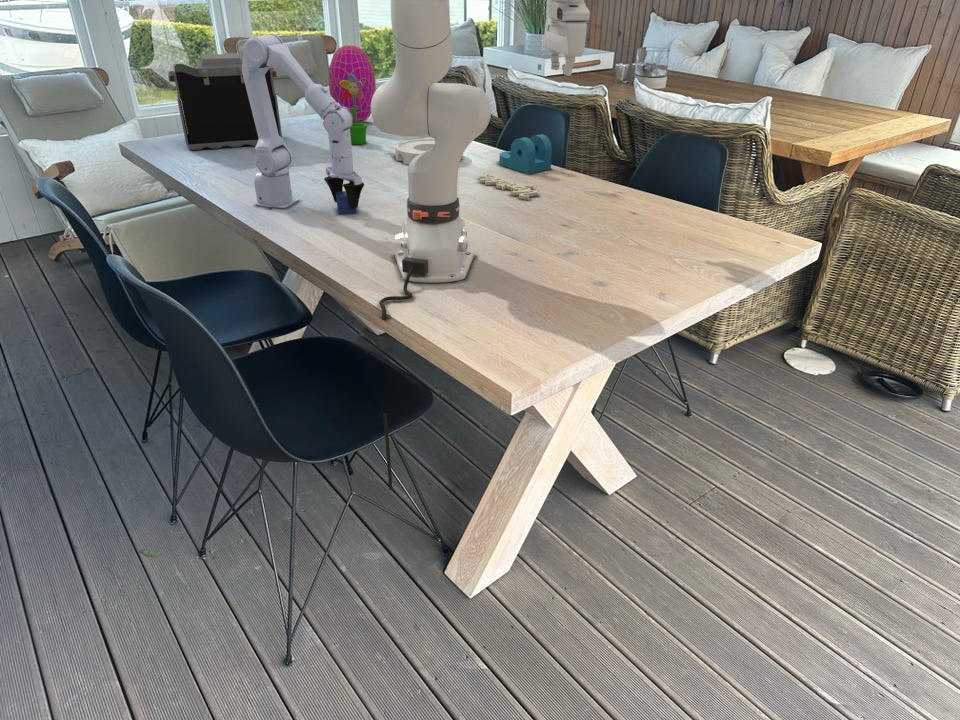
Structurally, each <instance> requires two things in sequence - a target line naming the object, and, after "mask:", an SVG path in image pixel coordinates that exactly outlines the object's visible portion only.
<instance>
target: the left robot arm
mask: <svg viewBox="0 0 960 720" xmlns="http://www.w3.org/2000/svg"><path fill="white" fill-rule="evenodd" d="M241 51H242V55H243V56H242V59H243V62H242V74H243V78H244V82H245V86H246V90H247V94H248V98H249V102H250V106H251V110H252V114H253V118H254V121H255V125H256V129H257V133H258V137H259V140H258V142H257V145H256V146H254V147H255V148H254V151H255V166H256V168H257V170H258V172H257V173H256V174H255V176H254V180H253V181H254V182H253V183H254V189H255V196H256V203H255V205H256V206H259V207H269V208H275V209H287V208H289V207H291V206H293V205H294V204H295V203H297V202H299V201H300V200H299V198H293V193H292V186H291V185H292V184H291V177H290V166H291V165H292V163H293V162H292V161H293V155H292V153H291V151H290V150H289V148H288V146H287V143H286V140H285V139H284V138H283V137H282V138H281V137H280V136H279V134H278V129H277V125H276V121H275V117H274V112H273V108H272V104H271V100H270V96H269V91H268V87H267V83H266V79H265V74H266V72H267V71H268V69H269V68H270V67H273V68H274V69H278V70H279V69H280V70H282V71H283V72H284V74H286V75H287V76H288V77H289V79H291V80H292V82H294V83H295V84H296V85H297V87H298V88H299V89H301V90H302V91H303V92H304V100H305V101H306V103H307V104H308V105H309V106H310V107H311V108H312V109H313V110H314V111H315V113H316V114H317V115H318V116H319V117H320V119H322V120H323V121H322V125H323V128H324V129H325V131H326V132H327V136H328V143H329V152H330V162H331V165H330V166H326V167H325V174H326V175H327V176H325V177H324V178H323V179H324V181H325V183H326V184H327V186H328V188H329V191H330V193H331V195H332V199H333V201H334V203H335V204H337V199H336V192H338V191H343V190H344V191H346V193H347V196H348V201H349V206H350V209H354V208H356V209H358V207H359V202H360V198H361V194H362V191H363V189H364V187H365V182H364V181H363V180H362V178H363V177H362V176H360V175H359V174H358V173H357V172H355V170H354V160H353V147H352V144H351V135H350V127H351V125H352V123H353V117H352V114H351V113H350V111H349V109H348V108H346V107H342V106H341V105H340V104H339V103H337V102H336V101H335V100H334V99H333V98H332V96H331V95H330V92H328V91H329V88H327V87H326V86H323V85H322V84H320V83H315V82H314V81H313V80H312V79H311V77H310V76H309V75H308V73H307V72H306V71H305V69H304V68H303V67H302V66H301V64H300V63H299V61H297V59H296V58H295V57H294V56H293V55H292V53H291V51H290V48H289V46H288V45H287V44H286V43H285V42H284V41H283V40H282V38H280V36H278V35H277V34H275V33H268V34H266V35H261V36H251V37H249V38H248V39H247V40H246V41H245V42H244V44H243V45H242V46H241ZM345 181H347V183H344V182H345ZM343 188H344V189H343Z"/></svg>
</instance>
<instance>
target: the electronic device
mask: <svg viewBox="0 0 960 720" xmlns="http://www.w3.org/2000/svg"><path fill="white" fill-rule="evenodd" d="M242 62H243V58H241V57H240V55H239V54H238V52H225V53H220V54H219V53H217V54H214V53H212V52H211V53H201V54H200V58H199V59H198V60H196V61H195V64H196V68H195V67H192V66H190V65H187V64H185V63H174V64H173V65H172V68H173V69H172V70H170V71H168V75H167V78H168V81H169V82H170V83H172V82H173V83H174V84H175V89H176V97H177V101H176V102H177V107H178V110H179V115H180V121H181V126H182V130H183V136H184V141H185V144H186V147H187V149H188V150H191V151H200V150H203V149H204V148H210V149H212V150H217V149H221V148H223V147H229V148H240V147H243V146H245V145H246V146H247V145H250V146H251V147H256V145H257V142H258V140H259V137H258V133H257V129H256V125H255V121H254V118H253V114H252V110H251V106H250V102H249V98H248V94H247V90H246V86H245V82H244V78H243V74H242ZM277 77H278V75H277V70H275V68H274V67H270V68H269V69H268V71H267V72H266V74H265V79H266V83H267V87H268V91H269V96H270V100H271V104H272V108H273V112H274V117H275V121H276V125H277V129H278V134H279V136H280V137H281V138H282V139H283V133H282V126H281V118H280V110H279V103H278V96H277V94H276V90H275V83H274V78H277Z"/></svg>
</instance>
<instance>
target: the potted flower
mask: <svg viewBox="0 0 960 720" xmlns="http://www.w3.org/2000/svg"><path fill="white" fill-rule="evenodd" d="M348 78H349V81H346V80H342V81H341V82H340V83H339V84H340V85H341V86H342V87H343V88H346V89H347V90H345V91H344V93H343V94H342V97H341V99H348V98H350V97H351V96H352V95H353V100H354V110H349V111H350V113H351V114H352V115H355V123H352V125H351V127H350V135H351V145H363V144H366V143H367V129H368V124H367V123H366V122H365V123H364V122H361V123H357V116H356V110H358V109H359V106H356V103H355V95H356V97H357V98H358V99H359V100H362V98H363V93H362V92H361V91H360V90H361V89H363V84H362V82H361V81H358V82H357V83H356V78H355V76H354V75H352V74H350V73H348Z"/></svg>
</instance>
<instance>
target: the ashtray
mask: <svg viewBox="0 0 960 720" xmlns="http://www.w3.org/2000/svg"><path fill="white" fill-rule="evenodd" d="M434 145H435V139H434V138H416V139H415V138H414V139H408V140H404V141H399V142H398V143H396V144H395V146H394V150H395V151H394V152H395V153H394V154H395V160H396V161H397V162H403V164H404V165H408V166H409V164H410V162H411V161H412V159H414V158H415V157H416V156H418V155H419V154H421V153H423V152H425V151H428V150H430V149H431V148H433V147H434Z"/></svg>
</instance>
